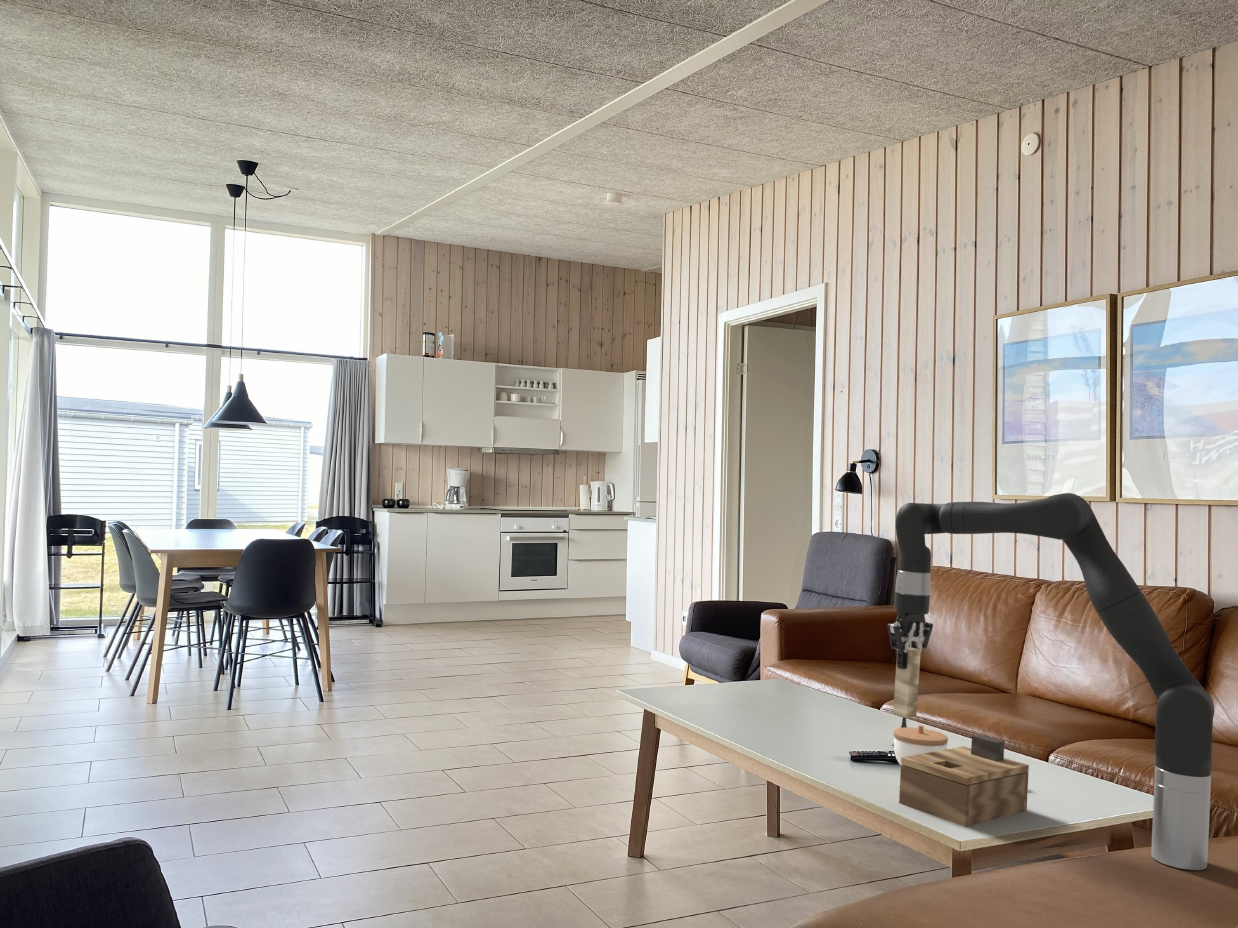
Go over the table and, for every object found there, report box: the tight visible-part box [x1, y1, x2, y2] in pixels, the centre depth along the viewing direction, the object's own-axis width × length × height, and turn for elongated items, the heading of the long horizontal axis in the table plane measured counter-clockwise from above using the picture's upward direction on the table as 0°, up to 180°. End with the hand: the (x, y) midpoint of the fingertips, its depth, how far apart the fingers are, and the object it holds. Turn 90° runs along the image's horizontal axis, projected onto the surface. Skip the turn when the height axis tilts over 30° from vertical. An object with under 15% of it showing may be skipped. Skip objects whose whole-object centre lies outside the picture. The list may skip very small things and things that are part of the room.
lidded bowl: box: [893, 724, 949, 766], centre depth 239 cm, size 13×13×11 cm
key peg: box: [892, 646, 922, 719], centre depth 221 cm, size 4×4×15 cm
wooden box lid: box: [901, 734, 1030, 785], centre depth 210 cm, size 22×16×5 cm
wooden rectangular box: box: [898, 765, 1029, 827], centre depth 209 cm, size 22×16×9 cm
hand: (907, 667), depth 221 cm, fingers closed on key peg, 3 cm apart
